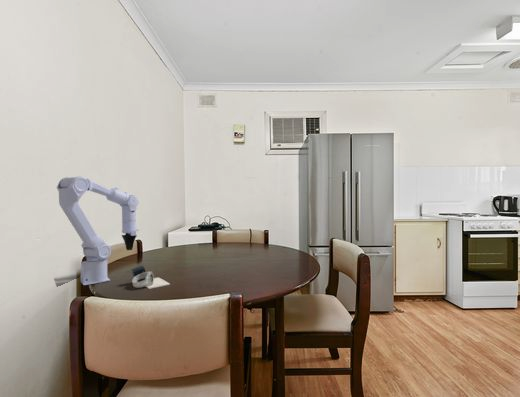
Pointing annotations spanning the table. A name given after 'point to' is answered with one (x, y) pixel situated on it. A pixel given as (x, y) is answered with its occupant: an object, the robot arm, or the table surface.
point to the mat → (157, 283)
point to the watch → (142, 277)
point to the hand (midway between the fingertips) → (129, 249)
